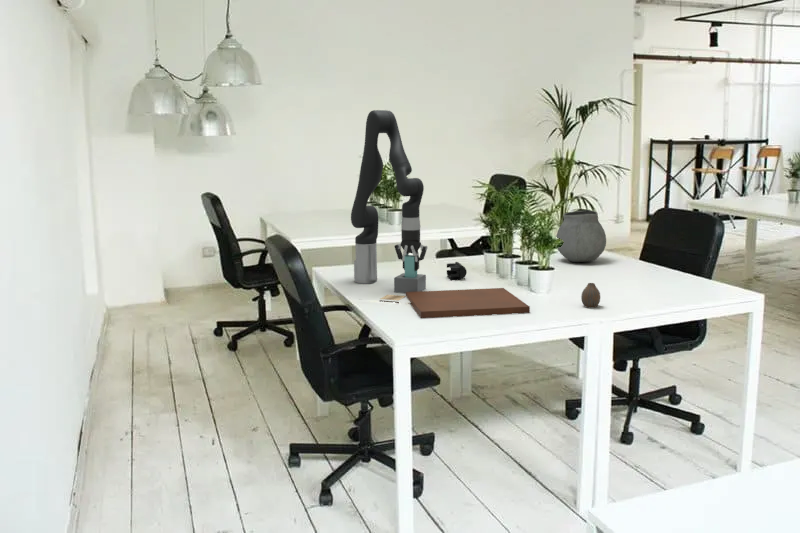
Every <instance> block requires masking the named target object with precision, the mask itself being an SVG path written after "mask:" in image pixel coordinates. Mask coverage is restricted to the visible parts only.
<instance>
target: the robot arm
mask: <svg viewBox="0 0 800 533" xmlns="http://www.w3.org/2000/svg"><path fill="white" fill-rule="evenodd" d="M399 129H400V128H399V125H398V122H397V117H396V116H395V114H394V113H393V112H392V111H391V110H388V109H385V110H380V109H377V110H376V109H374V110H371V111H369V112H368V114H367V117H366V122H365V132H364V134H365V135H364V137H365V138H364V145H363V153H362V154H363V155H362V160H361V165H360V170H359V177H358V181H357V182H358V183H357V188H356V193H355V197H354V201H353V204H352V208H351V213H350V222H351V225H352V226H353V227H354V228H355V229H363V230H362V231H361V232H360V233H359V234H357V235H356V236H355V239H354V240H355V242H354V243H355V260H353V272H354V273H353V276H354V278H353V281H354V283H358V284H366V285H367V284H374V283H377V282H378V259H377V258H378V254H377V253H378V252H377V246H378V245H377V244H378V243H377V239H378V235H379V212H378V210H377V208H376V206H373V205H368V201H369V198H370V197H371V196H372V194H373V193H374V191H375V190H376V188H377V187H378V185H379V184H380V182H381V179H382V175H383V169H384V161H383V158H382V156H381V153H380V151H379V147H378V140H379V135H380V134H386V135H387V137H388V139H389V141H390V145H389V146H390V147H389V151H388V152H389V154H388V158H389V162H390V165H391V168H392V170H393V171H394V174H395V183H396V189H397V191H398V193H399V195H400V196H402V197H409V199H408V200H407V201H405V202H403V203H402V205H401V222H400V223H401V228H400V229H401V230H400V231H401V242H400V243H397V244H395V245H394V250H395V252H396V253H395V254H396V256H397V259H398V260H401V261H402V269H403V270H404V271H405V256H407V255H410V254H411V255H413V256H414V257H415V271H417V272H418V270H419V269H420V262H421V261H423V260H424V259H425V257H426V254H427V250H428V246H427V245H423V244H422V243H421V219H420V206H421V203H422V199H423V195H424V189H425V188H424V187H425V186H424V183H423V181H422V179H421V178H419V177H410V178H408V177H407V176H409V175H410V174H411V173H412V171H413V169H412V166H411V163H410V161H409V158H408V156H407V154H406V152H405V149H404V145H403V141H402V137H401V133H400V130H399ZM402 249H403V252H402ZM419 249H420V251H421V252H420V251H419ZM419 252H420V253H419Z"/></svg>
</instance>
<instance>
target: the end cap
mask: <svg viewBox="0 0 800 533" xmlns="http://www.w3.org/2000/svg"><path fill="white" fill-rule="evenodd" d="M446 268H450V269H447V270H446V277H447V279H448V280H449V281H451V282H452V280H455V281H462V280H463V279H464V278H465V277H466V276H467V273H468V272H467V268H466V267H465V266H464V265H462V263H460V262H458V261H455V262H454V263H453V262H452V263H450V262H449V263H446Z"/></svg>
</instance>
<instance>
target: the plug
mask: <svg viewBox="0 0 800 533" xmlns="http://www.w3.org/2000/svg"><path fill="white" fill-rule="evenodd" d="M404 273H405V277H410V278H414V277H416V276H417V274H418V270H417V271H415V257H414V256H413V254H408V255H407V256H405V270H404Z"/></svg>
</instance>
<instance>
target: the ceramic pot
mask: <svg viewBox="0 0 800 533" xmlns="http://www.w3.org/2000/svg"><path fill="white" fill-rule="evenodd" d="M562 216H563V221H562V223H561V225H559V228H558V230H557V231H556V232H557V233H556V235H555V238H556V237H557V238H560V239H562V240H563V241H564V243H563V245H562V246H561V247H559V248H558V249H557V250H558V252H559V254H560V255H562V257H564V258H565V259H566V260H568V261H569V262H572V263H589V262H593V261H596V260H597V259H598V258H599V257H600V256H601V255H602V254H603V253H604V251H605V249H606V246H607V236H606V231H605V229H604V227H603V226H602V224H601V222H600V221H599V217H598V216H599V215H598V211H595V210H577V211H569V212H565V213H563V215H562Z"/></svg>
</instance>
